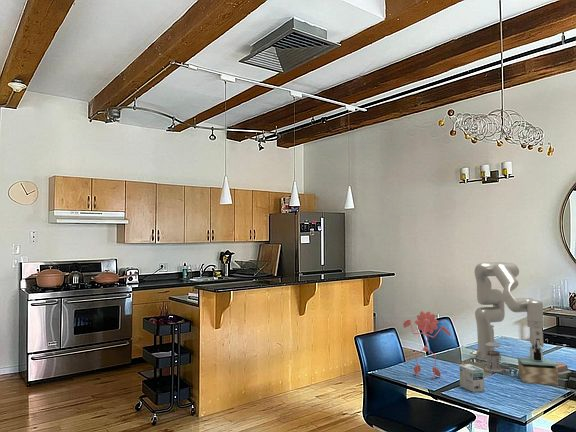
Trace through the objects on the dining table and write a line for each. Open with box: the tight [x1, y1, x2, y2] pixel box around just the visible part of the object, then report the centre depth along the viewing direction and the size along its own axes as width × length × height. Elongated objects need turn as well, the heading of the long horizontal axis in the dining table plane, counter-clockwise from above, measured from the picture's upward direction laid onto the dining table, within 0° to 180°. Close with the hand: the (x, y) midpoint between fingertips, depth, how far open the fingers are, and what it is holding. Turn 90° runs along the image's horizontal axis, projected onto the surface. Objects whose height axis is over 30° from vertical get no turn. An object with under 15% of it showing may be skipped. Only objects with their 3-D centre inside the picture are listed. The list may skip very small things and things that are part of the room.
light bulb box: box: [458, 363, 486, 393], centre depth 227 cm, size 11×7×11 cm, turn 17°
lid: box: [517, 357, 558, 366], centre depth 240 cm, size 16×14×1 cm
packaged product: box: [554, 361, 572, 376], centre depth 252 cm, size 18×5×10 cm
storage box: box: [517, 359, 559, 386], centre depth 240 cm, size 16×14×8 cm
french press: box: [483, 324, 504, 373], centre depth 260 cm, size 10×12×25 cm
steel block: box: [529, 346, 544, 361], centre depth 240 cm, size 5×5×6 cm
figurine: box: [402, 310, 451, 380], centre depth 251 cm, size 15×26×35 cm, turn 59°
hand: (536, 358), depth 240 cm, fingers closed on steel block, 5 cm apart
